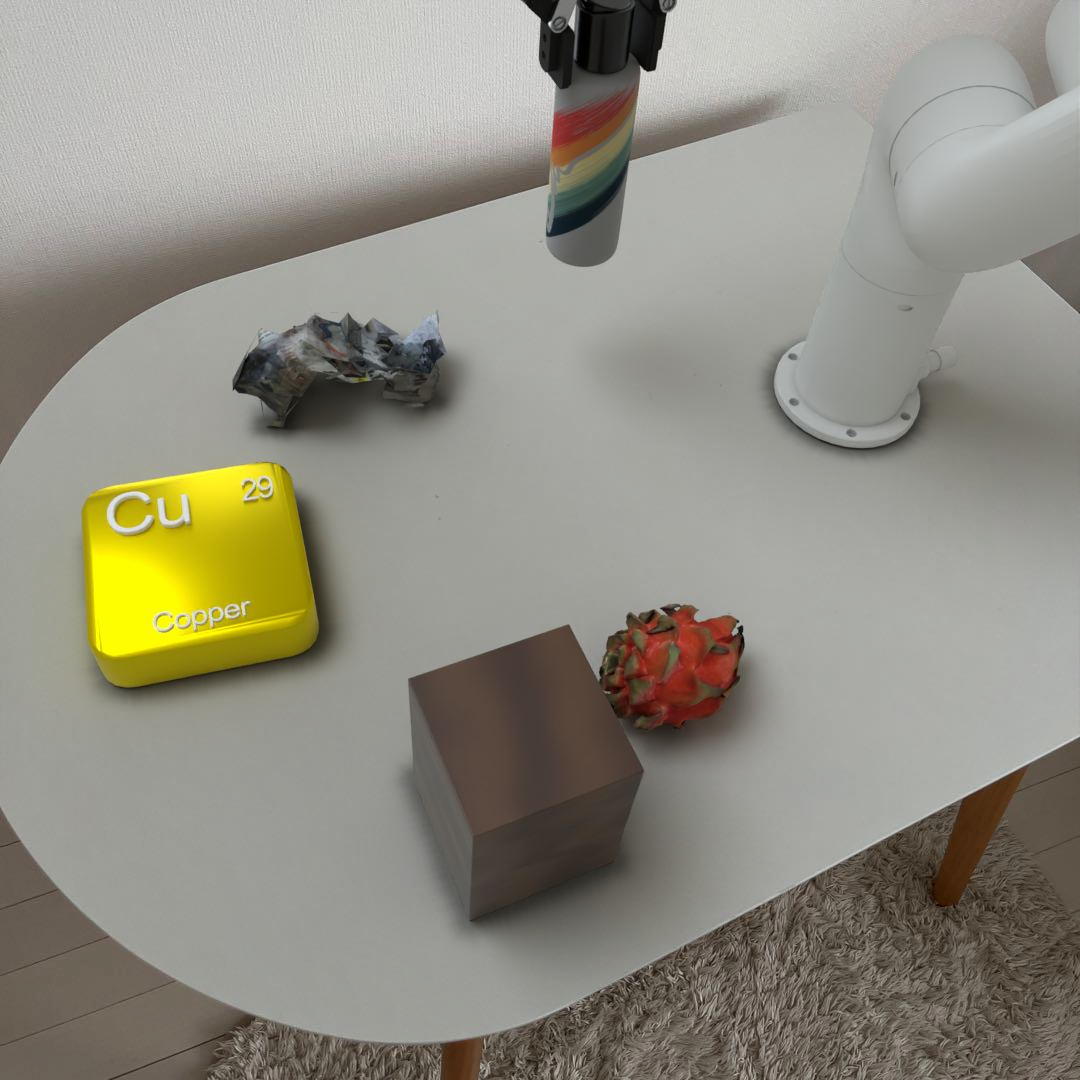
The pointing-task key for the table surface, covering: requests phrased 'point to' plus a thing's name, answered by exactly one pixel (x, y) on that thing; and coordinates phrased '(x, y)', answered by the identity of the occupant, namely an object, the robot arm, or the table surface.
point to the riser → (521, 768)
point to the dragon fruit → (671, 666)
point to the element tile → (196, 574)
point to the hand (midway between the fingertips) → (599, 67)
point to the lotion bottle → (593, 136)
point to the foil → (341, 360)
